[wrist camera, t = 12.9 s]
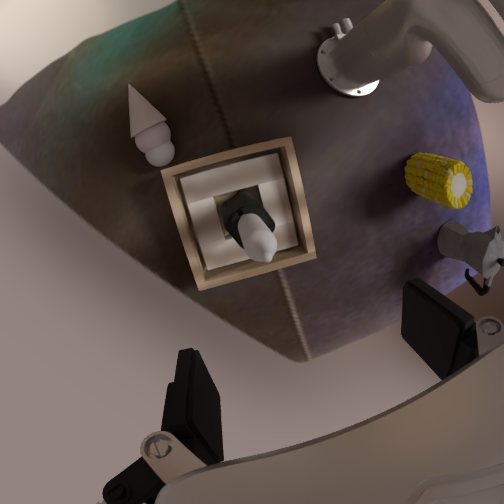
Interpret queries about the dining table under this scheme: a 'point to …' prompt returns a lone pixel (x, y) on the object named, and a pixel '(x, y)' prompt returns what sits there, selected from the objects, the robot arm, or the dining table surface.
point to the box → (226, 186)
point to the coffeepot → (473, 251)
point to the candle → (250, 226)
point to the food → (439, 179)
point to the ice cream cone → (149, 130)
